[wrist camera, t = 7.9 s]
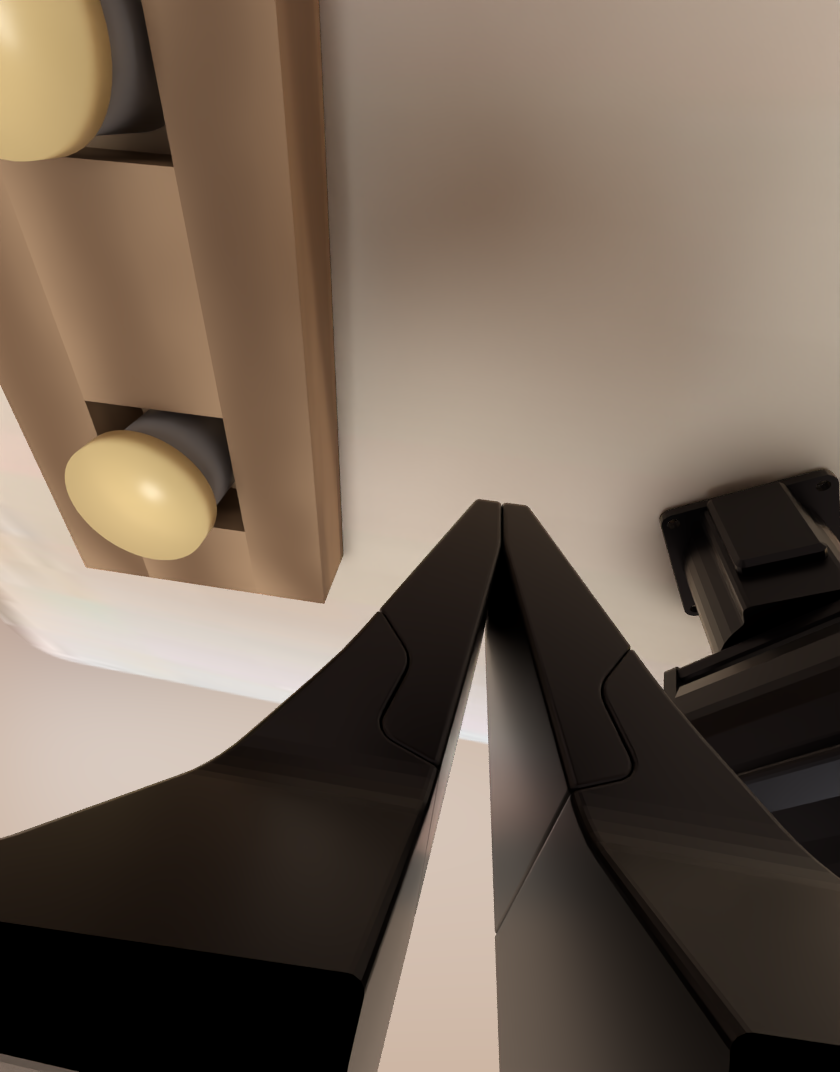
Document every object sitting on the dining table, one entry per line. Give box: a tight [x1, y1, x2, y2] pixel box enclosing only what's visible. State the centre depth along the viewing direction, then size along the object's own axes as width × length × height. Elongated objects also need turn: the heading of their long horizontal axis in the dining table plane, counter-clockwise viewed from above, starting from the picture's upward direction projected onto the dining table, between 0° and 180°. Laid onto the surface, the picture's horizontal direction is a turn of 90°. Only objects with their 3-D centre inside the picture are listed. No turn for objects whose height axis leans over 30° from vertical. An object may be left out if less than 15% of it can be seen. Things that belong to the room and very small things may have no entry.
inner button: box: [65, 409, 235, 560], centre depth 22 cm, size 5×5×6 cm
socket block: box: [0, 0, 343, 604], centre depth 19 cm, size 12×26×4 cm, turn 176°
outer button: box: [0, 0, 165, 161], centre depth 13 cm, size 5×5×6 cm
